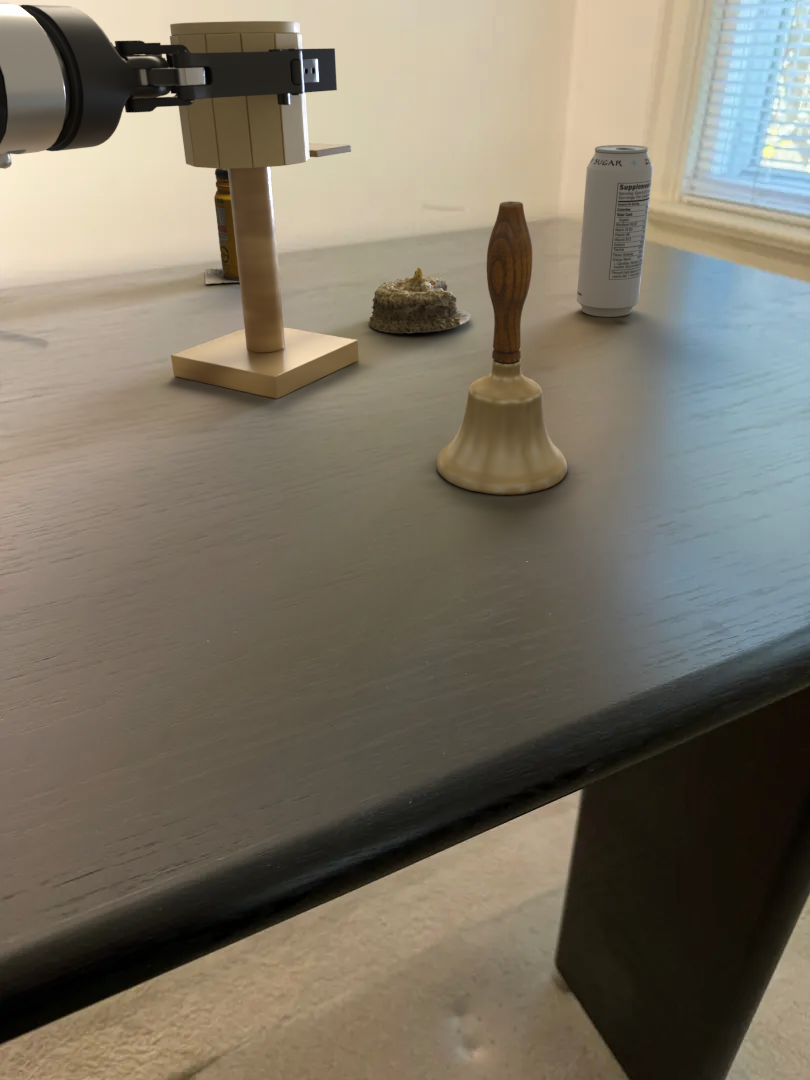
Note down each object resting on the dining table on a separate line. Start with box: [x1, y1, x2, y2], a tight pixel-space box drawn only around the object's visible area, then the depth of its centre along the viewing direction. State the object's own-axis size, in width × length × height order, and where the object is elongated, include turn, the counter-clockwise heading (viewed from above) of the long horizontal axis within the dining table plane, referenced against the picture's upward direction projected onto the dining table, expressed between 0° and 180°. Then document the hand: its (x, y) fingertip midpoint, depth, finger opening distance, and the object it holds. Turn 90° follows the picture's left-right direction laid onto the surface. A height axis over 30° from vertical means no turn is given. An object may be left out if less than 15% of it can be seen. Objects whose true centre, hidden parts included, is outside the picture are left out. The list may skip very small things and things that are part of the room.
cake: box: [368, 267, 472, 335], centre depth 85 cm, size 10×10×5 cm
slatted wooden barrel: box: [169, 20, 352, 169], centre depth 66 cm, size 9×13×9 cm
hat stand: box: [170, 167, 359, 400], centre depth 70 cm, size 11×11×20 cm
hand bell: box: [436, 200, 568, 496], centre depth 53 cm, size 8×8×16 cm
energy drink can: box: [576, 144, 654, 318], centre depth 85 cm, size 6×6×15 cm
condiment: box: [204, 168, 240, 285], centre depth 102 cm, size 7×8×12 cm
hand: (280, 70), depth 67 cm, fingers closed on slatted wooden barrel, 9 cm apart
